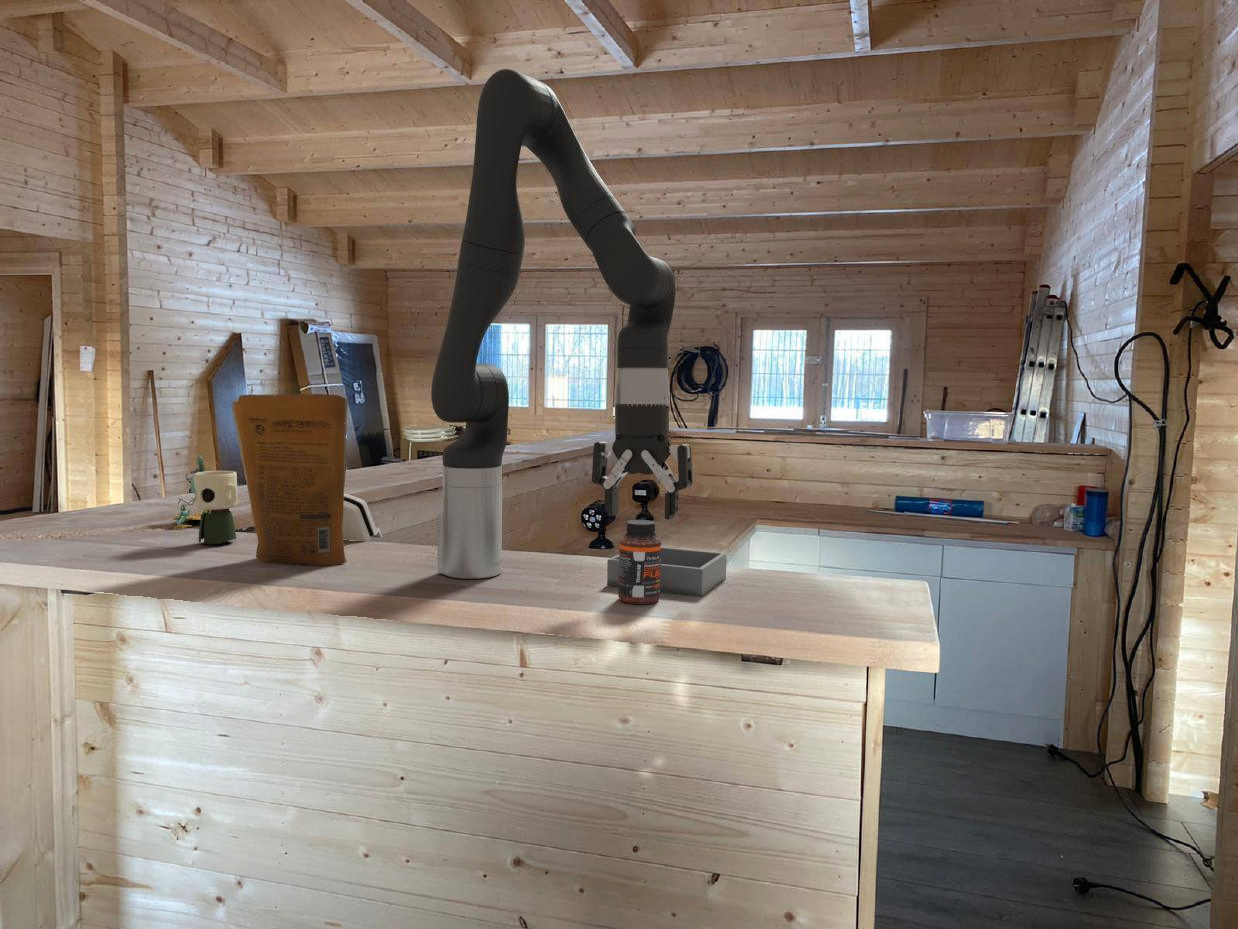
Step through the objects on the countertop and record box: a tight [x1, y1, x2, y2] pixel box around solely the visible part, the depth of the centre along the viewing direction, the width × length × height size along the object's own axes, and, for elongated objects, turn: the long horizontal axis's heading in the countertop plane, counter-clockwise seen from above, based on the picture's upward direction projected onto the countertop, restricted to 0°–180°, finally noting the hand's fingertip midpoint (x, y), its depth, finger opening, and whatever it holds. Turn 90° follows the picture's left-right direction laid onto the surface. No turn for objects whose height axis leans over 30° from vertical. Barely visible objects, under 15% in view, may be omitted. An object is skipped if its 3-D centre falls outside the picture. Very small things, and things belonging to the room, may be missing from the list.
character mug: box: [193, 470, 238, 545], centre depth 160 cm, size 11×7×13 cm, turn 60°
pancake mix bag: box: [231, 393, 349, 567], centre depth 145 cm, size 7×19×28 cm, turn 79°
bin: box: [606, 546, 728, 597], centre depth 137 cm, size 15×13×4 cm
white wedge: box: [342, 492, 383, 543], centre depth 169 cm, size 17×5×10 cm, turn 68°
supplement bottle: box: [617, 519, 662, 605], centre depth 125 cm, size 6×6×11 cm
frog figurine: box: [172, 455, 219, 530], centre depth 183 cm, size 10×18×15 cm, turn 160°
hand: (641, 516), depth 124 cm, fingers open, 8 cm apart
